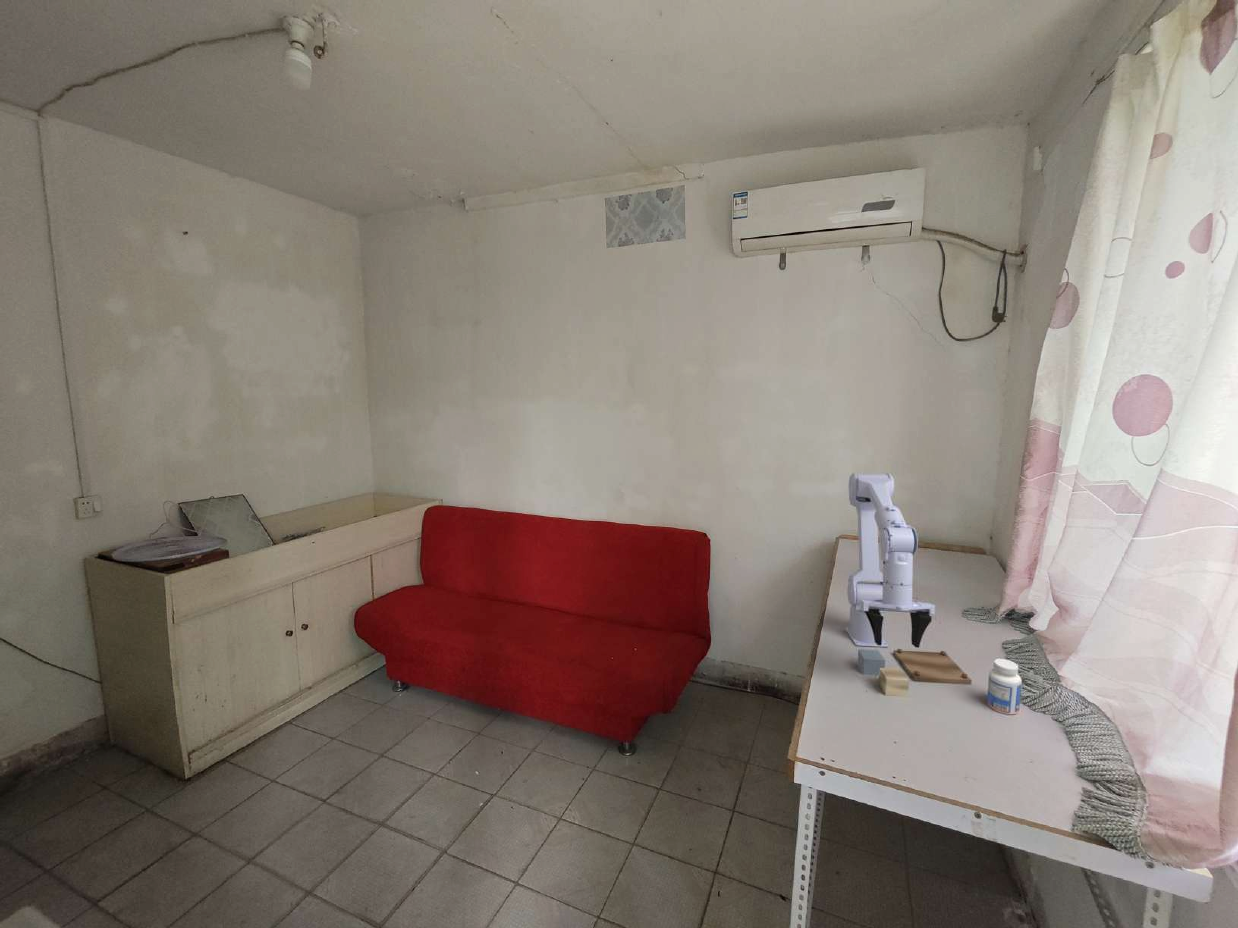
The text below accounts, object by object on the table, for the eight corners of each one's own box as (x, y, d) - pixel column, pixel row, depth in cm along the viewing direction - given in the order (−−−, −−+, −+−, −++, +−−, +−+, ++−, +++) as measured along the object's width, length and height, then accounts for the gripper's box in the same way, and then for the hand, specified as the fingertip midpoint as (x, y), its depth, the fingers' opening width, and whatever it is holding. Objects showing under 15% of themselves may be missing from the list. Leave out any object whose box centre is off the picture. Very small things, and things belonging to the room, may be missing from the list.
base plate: (893, 653, 128) (893, 647, 128) (945, 656, 126) (945, 649, 126) (913, 681, 116) (914, 674, 116) (971, 684, 115) (971, 677, 114)
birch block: (878, 684, 116) (879, 667, 115) (899, 685, 115) (900, 668, 115) (885, 695, 111) (886, 678, 111) (907, 697, 111) (908, 680, 110)
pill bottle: (1005, 698, 109) (1009, 656, 108) (1025, 714, 104) (1030, 670, 103) (980, 699, 109) (984, 657, 108) (999, 715, 104) (1003, 671, 102)
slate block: (857, 664, 124) (858, 649, 123) (877, 665, 123) (878, 650, 123) (863, 674, 120) (864, 659, 119) (884, 676, 119) (885, 660, 118)
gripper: (868, 585, 109) (867, 649, 109) (942, 588, 107) (941, 653, 107) (857, 577, 116) (857, 638, 116) (926, 580, 114) (925, 641, 114)
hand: (896, 644), depth 112 cm, fingers open, 7 cm apart
